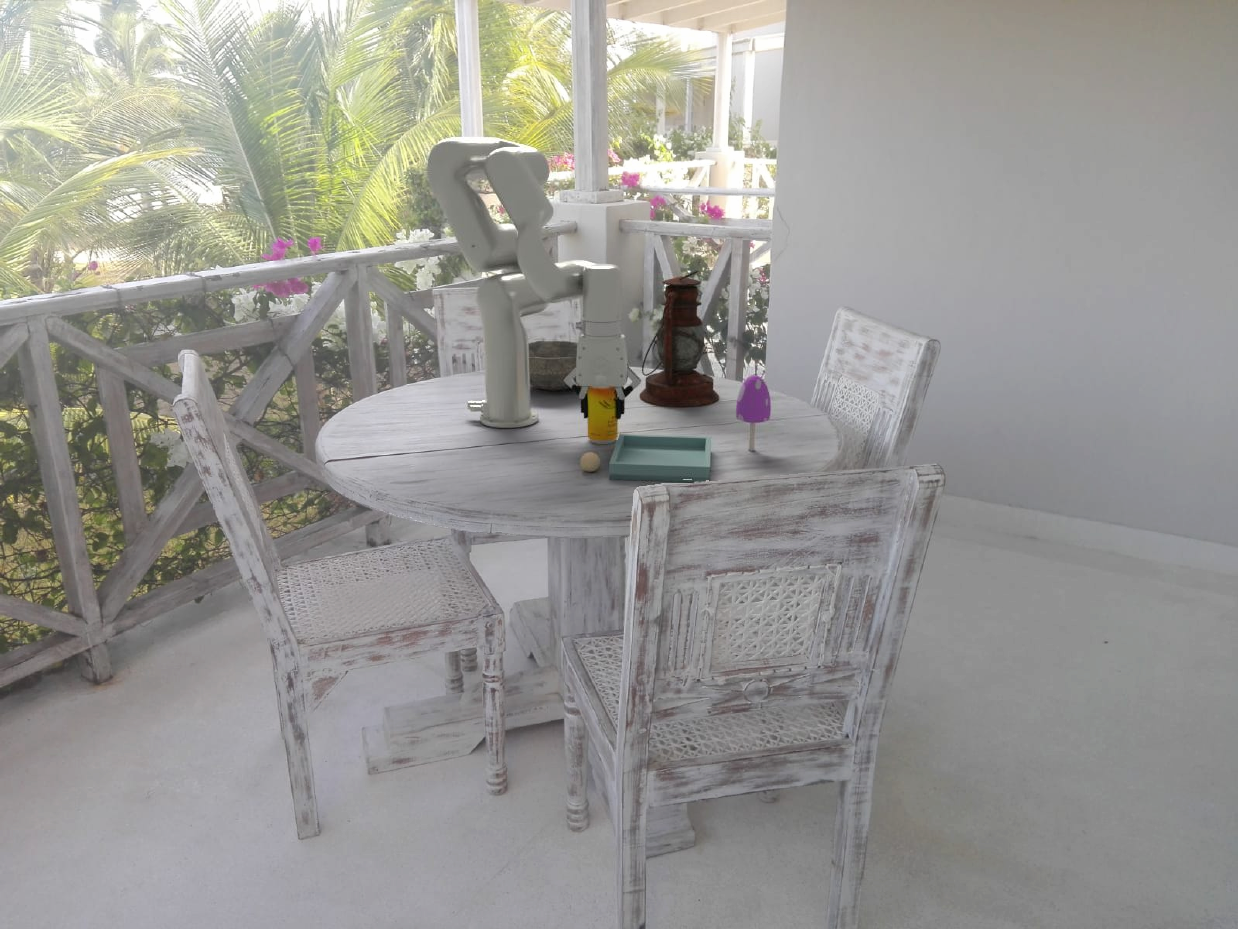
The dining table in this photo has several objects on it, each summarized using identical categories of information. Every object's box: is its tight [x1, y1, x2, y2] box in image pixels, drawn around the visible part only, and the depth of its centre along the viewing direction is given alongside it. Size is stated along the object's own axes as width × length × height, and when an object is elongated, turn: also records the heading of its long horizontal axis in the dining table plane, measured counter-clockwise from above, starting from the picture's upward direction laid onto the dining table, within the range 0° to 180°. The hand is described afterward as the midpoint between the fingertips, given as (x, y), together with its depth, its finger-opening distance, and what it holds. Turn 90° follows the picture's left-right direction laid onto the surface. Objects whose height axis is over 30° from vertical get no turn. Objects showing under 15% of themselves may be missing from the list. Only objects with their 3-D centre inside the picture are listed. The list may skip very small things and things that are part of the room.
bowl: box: [528, 340, 578, 391], centre depth 231 cm, size 21×21×10 cm
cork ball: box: [580, 451, 601, 473], centre depth 174 cm, size 4×4×4 cm
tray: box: [608, 433, 712, 483], centre depth 177 cm, size 18×18×3 cm
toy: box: [735, 374, 772, 452], centre depth 184 cm, size 7×7×15 cm
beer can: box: [587, 374, 619, 445], centre depth 190 cm, size 6×6×15 cm
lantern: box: [639, 270, 720, 409], centre depth 220 cm, size 19×19×30 cm
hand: (602, 416), depth 190 cm, fingers closed on beer can, 6 cm apart
